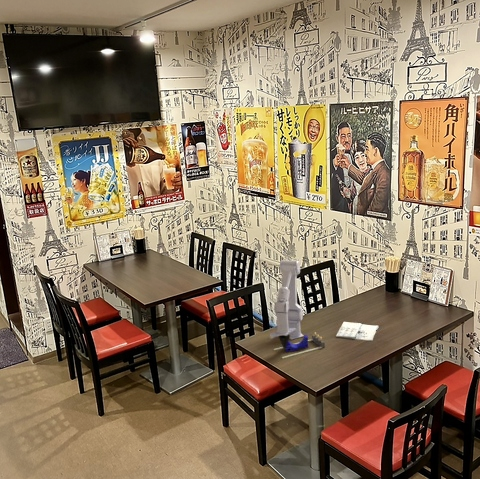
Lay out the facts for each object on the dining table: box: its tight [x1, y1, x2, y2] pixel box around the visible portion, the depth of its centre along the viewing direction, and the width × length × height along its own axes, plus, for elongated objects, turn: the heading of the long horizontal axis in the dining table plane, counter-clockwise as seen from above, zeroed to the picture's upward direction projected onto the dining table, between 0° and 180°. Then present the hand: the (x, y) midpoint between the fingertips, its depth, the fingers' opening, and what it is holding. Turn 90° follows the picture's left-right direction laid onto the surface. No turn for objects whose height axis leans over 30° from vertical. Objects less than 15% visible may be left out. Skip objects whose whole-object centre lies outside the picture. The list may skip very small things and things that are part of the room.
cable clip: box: [284, 334, 309, 353], centre depth 260 cm, size 12×4×6 cm, turn 95°
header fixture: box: [273, 332, 326, 360], centre depth 260 cm, size 11×24×5 cm, turn 110°
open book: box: [335, 321, 380, 342], centre depth 273 cm, size 19×20×2 cm
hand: (284, 347), depth 257 cm, fingers closed
